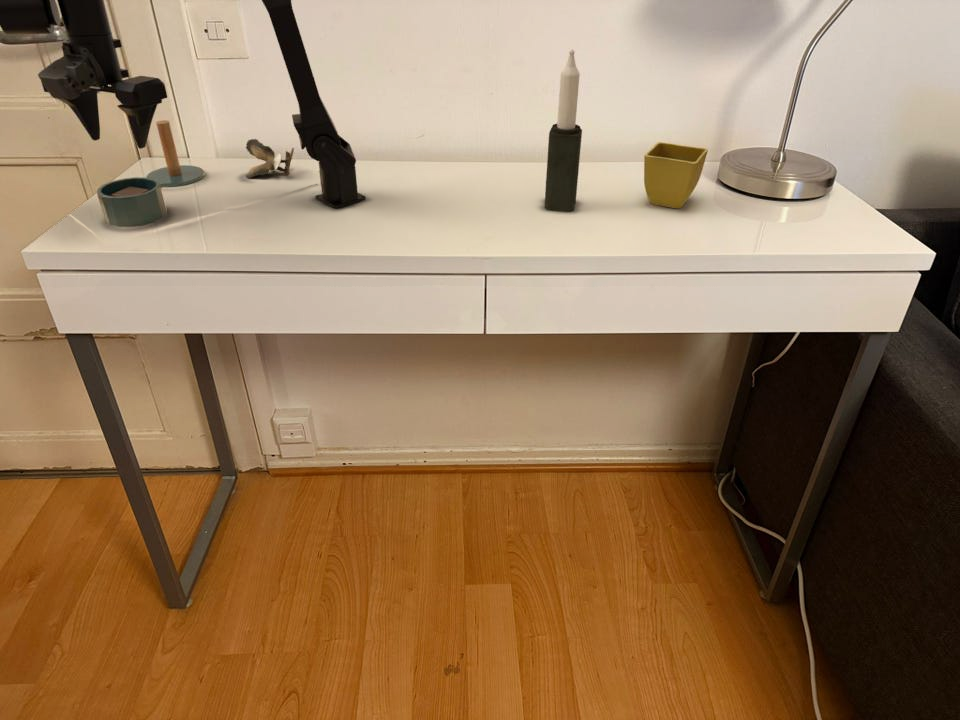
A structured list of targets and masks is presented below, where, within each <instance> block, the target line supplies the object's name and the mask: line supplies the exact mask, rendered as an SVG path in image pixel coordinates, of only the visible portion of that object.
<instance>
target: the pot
mask: <svg viewBox="0 0 960 720" xmlns="http://www.w3.org/2000/svg"><path fill="white" fill-rule="evenodd" d="M127 187H136V188H142V189H148V190H149V191H147V192H145V193H141V194H137V195H132V196H124V197H118V196H111V195H112V194H114V193H116V192H118V191H121V190H123V189H125V188H127ZM96 195H97V198H98V201H99V204H100V209H101V211H102V214H103V217H104V221H105V222H106V223H107V224H108V225H110V226H113V227H119V228H124V227H125V228H127V227H128V228H131V227H132V228H133V227H140V226H146V225H149V224H153V223H156V222H158V221H159V220H162V219H164V217H166V216H167V215H168V209H167V204H166V201H165V196H164V193H163V188H162V187H161V184H160V182H159V181H157V180H156V179H152V178H146V177H144V176H143V177H140V176H139V177H129V178H128V177H127V178H121V179H116V180H112V181H109V182H106V183H104V184H102V185H101V186H100V187H97V191H96Z"/></svg>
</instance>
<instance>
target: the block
mask: <svg viewBox="0 0 960 720" xmlns="http://www.w3.org/2000/svg"><path fill="white" fill-rule="evenodd" d="M147 191H149V190H148V189H142V188H136V187H127V188H125V189H123V190H121V191H118V192H116V193H114V194H112V195H111V196H118V197H124V196H132V195H137V194H141V193H145V192H147Z"/></svg>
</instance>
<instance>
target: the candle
mask: <svg viewBox="0 0 960 720" xmlns="http://www.w3.org/2000/svg"><path fill="white" fill-rule="evenodd" d="M568 54H569V55H568V58H567V61H566V63H565V66H564V67H563V69H562V70H561V72H560V77H559V78H560V79H559V93H558V105H557V106H558V107H557V108H558V109H557V122H556V123H554V124H553V125H552V126H551V128H550V130H549V132H548V144H547V145H548V147H547V158H546V159H547V161H546V175H545V191H544V209H545V210H546V211H553V212H565V213H570V212H574V211H575V206H576V203H577V193H578V192H577V191H578V183H579V181H578V180H579V170H580V157H581V147H582V138H583V137H582V135H583V129H582V128H581V126H580V125H579V124H576V123H577V110H578V97H579V87H580V84H579V83H580V76H581V75H580V71H579V69H578V67H577V65H576V64H577V63H576V60H575V50H574V49H573V48H572V49H569V51H568Z"/></svg>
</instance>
